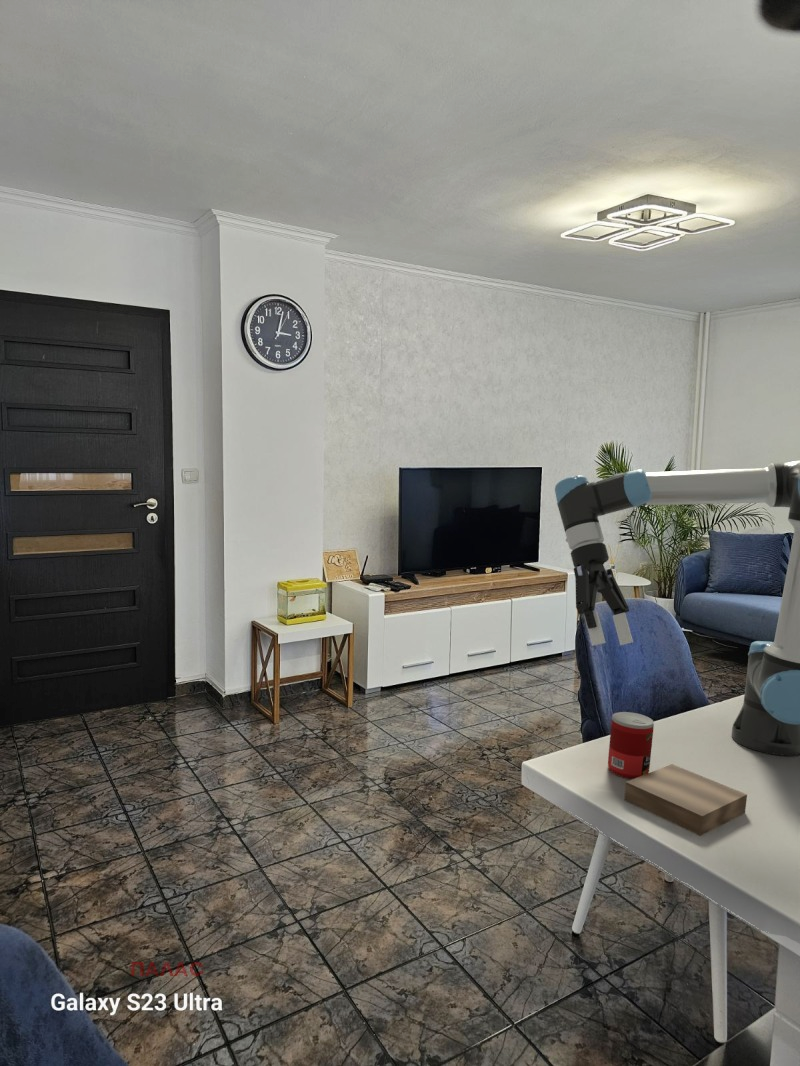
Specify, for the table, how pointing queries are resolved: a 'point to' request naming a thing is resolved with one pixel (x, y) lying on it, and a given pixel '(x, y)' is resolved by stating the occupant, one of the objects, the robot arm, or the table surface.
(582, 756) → the table surface
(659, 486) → the robot arm
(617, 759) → the canned food
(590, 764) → the table surface
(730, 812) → the walnut stand
